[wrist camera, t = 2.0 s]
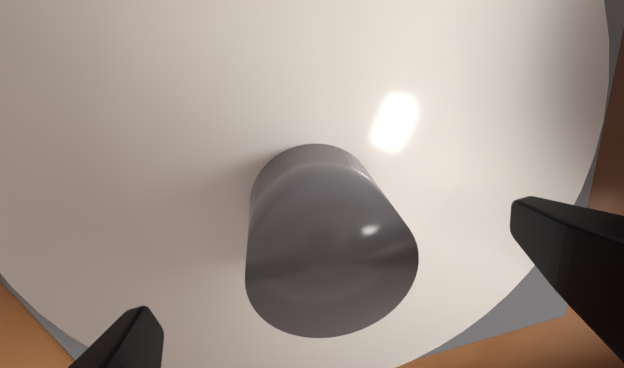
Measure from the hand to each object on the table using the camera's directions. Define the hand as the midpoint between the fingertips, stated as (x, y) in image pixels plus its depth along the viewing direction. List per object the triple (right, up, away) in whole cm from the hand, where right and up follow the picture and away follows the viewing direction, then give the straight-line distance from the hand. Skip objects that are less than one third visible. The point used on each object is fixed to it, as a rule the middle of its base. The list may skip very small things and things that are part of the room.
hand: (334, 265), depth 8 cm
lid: (-1, +2, +3) cm, 4 cm away
